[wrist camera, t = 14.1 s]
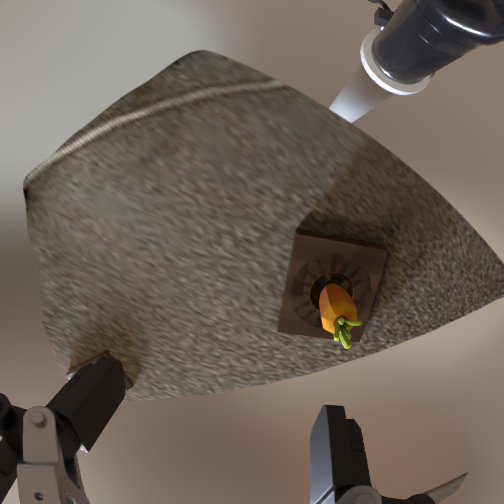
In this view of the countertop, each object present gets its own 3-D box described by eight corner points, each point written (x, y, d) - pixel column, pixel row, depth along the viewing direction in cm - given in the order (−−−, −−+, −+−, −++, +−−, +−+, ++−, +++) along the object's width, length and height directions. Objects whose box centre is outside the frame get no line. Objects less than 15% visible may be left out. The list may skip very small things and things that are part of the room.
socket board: (295, 229, 42) (296, 233, 39) (382, 245, 41) (388, 250, 38) (277, 322, 46) (276, 331, 44) (355, 332, 45) (359, 342, 43)
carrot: (317, 269, 43) (330, 317, 29) (347, 273, 43) (372, 321, 28) (311, 297, 44) (319, 353, 30) (340, 301, 44) (359, 357, 30)
